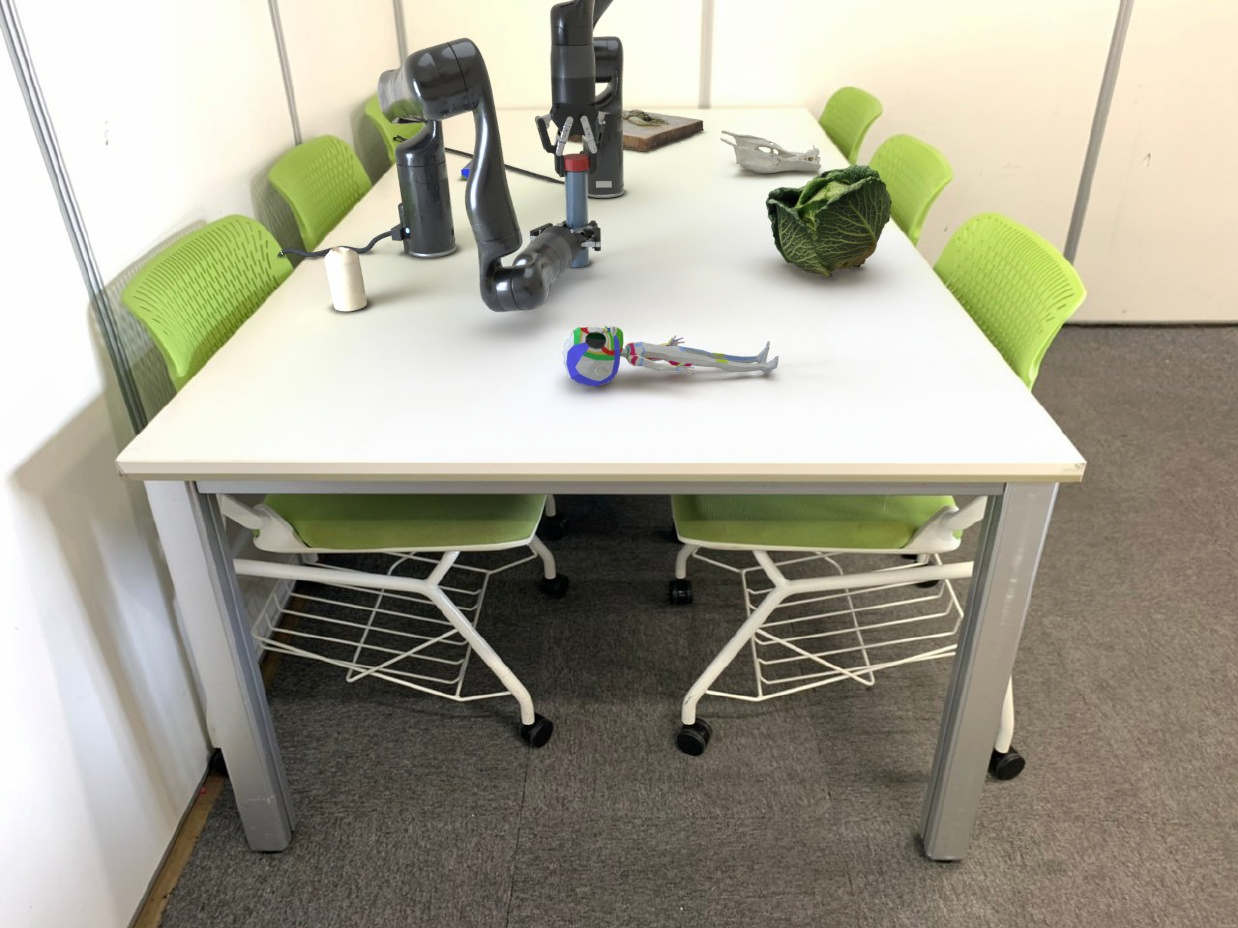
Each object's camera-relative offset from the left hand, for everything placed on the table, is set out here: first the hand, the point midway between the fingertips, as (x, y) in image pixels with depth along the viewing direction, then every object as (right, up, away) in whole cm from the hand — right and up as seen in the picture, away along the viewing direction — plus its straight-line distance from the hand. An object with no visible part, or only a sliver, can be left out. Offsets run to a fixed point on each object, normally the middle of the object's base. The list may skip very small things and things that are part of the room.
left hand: (582, 224), depth 168 cm
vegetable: (+45, -9, -3) cm, 46 cm away
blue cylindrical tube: (-1, -7, +1) cm, 7 cm away
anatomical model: (+45, +28, +56) cm, 77 cm away
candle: (-39, -18, -15) cm, 45 cm away
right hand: (-1, +7, -8) cm, 10 cm away
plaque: (+11, +50, +91) cm, 105 cm away
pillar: (-30, +30, +61) cm, 74 cm away
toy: (+14, -32, -39) cm, 53 cm away
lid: (-1, +9, -9) cm, 13 cm away
